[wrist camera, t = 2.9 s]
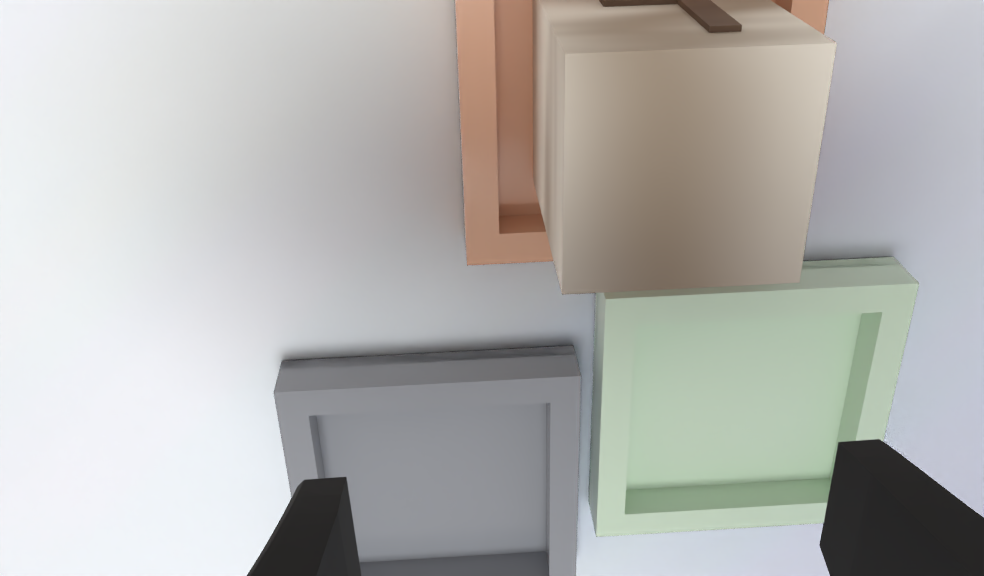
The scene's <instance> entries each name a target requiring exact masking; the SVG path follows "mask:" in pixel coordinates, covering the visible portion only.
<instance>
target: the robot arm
mask: <svg viewBox="0 0 984 576" xmlns="http://www.w3.org/2000/svg"><path fill="white" fill-rule="evenodd" d="M820 548H821V551H822V553H823V556H824V559H825V562H826V565H827V568H828V571H829V574H830V576H984V518H983V517H982V516H981V515H979V514H978V513H976V512H975V511H974V510H972V509H971V508H970V507H969V506H967V505H966V504H965V503H963V502H962V501H961V500H959V499H958V498H957V497H955V496H954V495H953V494H951V493H950V492H949V491H947V490H946V489H945V488H944V487H942V486H941V485H940V484H938V483H937V482H936V481H934V480H933V479H932V478H931V477H929V476H928V475H927V474H925V473H924V472H923V471H921V470H920V469H919V468H918V467H916V466H915V465H914V464H912V463H911V462H910V461H908V460H907V459H906V458H904V457H903V456H902V455H901V454H899V453H898V452H897V451H895V450H894V449H893V448H891V447H890V446H888V445H887V444H886V443H884V442H883V441H881V440H880V439H874V440H860V441H845V442H838V447H837V452H836V458H835V463H834V469H833V474H832V480H831V485H830V491H829V496H828V502H827V507H826V513H825V518H824V524H823V529H822V535H821V540H820ZM247 576H361V569H360V563H359V556H358V550H357V543H356V537H355V530H354V524H353V517H352V510H351V504H350V497H349V491H348V484H347V478H346V477H335V478H321V479H307V480H303V481H302V482H301V483H300V484H299V485H298V486H297V488H296V490H295V492H294V494H293V496H292V498H291V500H290V502H289V504H288V506H287V508H286V510H285V512H284V514H283V516H282V517H281V519H280V521H279V523H278V525H277V527H276V528H275V530H274V532H273V534H272V535H271V537H270V539H269V540H268V542H267V544H266V546H265V547H264V549H263V551H262V552H261V554H260V556H259V557H258V559H257V560H256V562H255V564H254V565H253V567H252V568H251V570H250V572H249V573H248V575H247Z"/></svg>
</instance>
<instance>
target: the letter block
mask: <svg viewBox="0 0 984 576" xmlns="http://www.w3.org/2000/svg"><path fill="white" fill-rule="evenodd" d="M532 12H533V182H534V186H535V190H536V194H537V197H538V201H539V205H540V209H541V213H542V217H543V221H544V225H545V229H546V233H547V237H548V241H549V245H550V249H551V253H552V257H553V261H554V265H555V268H556V272H557V276H558V280H559V284H560V288H561V292H562V295H563V294H583V293H603V292H623V291H643V290H663V289H683V288H703V287H722V286H742V285H762V284H782V283H800V277H801V270H802V264H803V257H804V251H805V245H806V238H807V232H808V225H809V219H810V213H811V206H812V200H813V193H814V187H815V181H816V174H817V168H818V161H819V155H820V149H821V142H822V136H823V129H824V123H825V117H826V110H827V104H828V97H829V91H830V85H831V78H832V72H833V65H834V59H835V53H836V46H837V43H836V42H835V41H833V40H831V39H830V38H828V37H827V36H825V35H824V34H822V33H821V32H819V31H817V30H816V29H814V28H813V27H811V26H810V25H808V24H807V23H805V22H803V21H802V20H800V19H799V18H797V17H796V16H794V15H793V14H791V13H790V12H788V11H786V10H785V9H783V8H782V7H780V6H779V5H777V4H776V3H774V2H772V1H771V0H532Z"/></svg>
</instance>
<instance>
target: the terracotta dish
mask: <svg viewBox="0 0 984 576" xmlns="http://www.w3.org/2000/svg"><path fill="white" fill-rule="evenodd" d="M771 1H772V2H774V3H776V4H777V5H779V6H780V7H782V8H783V9H785V10H786V11H788V12H790V13H791V14H793V15H794V16H796V17H797V18H799V19H800V20H802V21H803V22H805V23H807V24H808V25H810V26H811V27H813V28H814V29H816V30H817V31H819V32H821V33H822V34H824V31H825V24H826V17H827V10H828V4H829V0H771ZM455 17H456V40H457V63H458V86H459V109H460V132H461V154H462V177H463V200H464V223H465V243H466V257H467V265H485V264H505V263H526V262H546V261H553V257H552V253H551V249H550V245H549V241H548V237H547V233H546V229H545V225H544V221H543V217H542V213H541V209H540V205H539V201H538V197H537V194H536V190H535V186H534V182H533V12H532V0H455Z"/></svg>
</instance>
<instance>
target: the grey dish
mask: <svg viewBox="0 0 984 576" xmlns="http://www.w3.org/2000/svg"><path fill="white" fill-rule="evenodd" d="M274 398H275V403H276V409H277V415H278V421H279V427H280V433H281V438H282V444H283V450H284V456H285V462H286V468H287V473H288V479H289V485H290V491H291V497H292V496H293V494H294V492H295V490H296V488H297V486H298V485H299V484H300V483H301V482H302V481H303V480H307V479H321V478H335V477H346V478H347V484H348V491H349V497H350V504H351V510H352V517H353V524H354V530H355V537H356V543H357V550H358V556H359V563H360V569H361V576H576V550H577V512H578V474H579V436H580V398H581V374H580V370H579V366H578V362H577V358H576V354H575V350H574V346H557V347H537V348H518V349H499V350H480V351H461V352H442V353H423V354H404V355H384V356H365V357H346V358H327V359H308V360H289V361H282V362H281V366H280V370H279V374H278V378H277V382H276V385H275V389H274Z"/></svg>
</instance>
